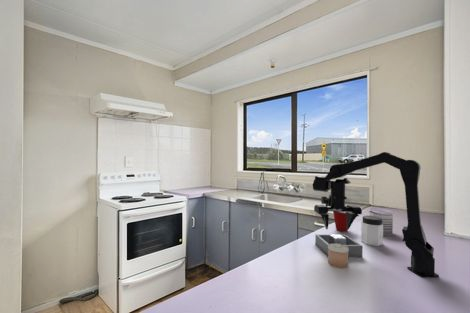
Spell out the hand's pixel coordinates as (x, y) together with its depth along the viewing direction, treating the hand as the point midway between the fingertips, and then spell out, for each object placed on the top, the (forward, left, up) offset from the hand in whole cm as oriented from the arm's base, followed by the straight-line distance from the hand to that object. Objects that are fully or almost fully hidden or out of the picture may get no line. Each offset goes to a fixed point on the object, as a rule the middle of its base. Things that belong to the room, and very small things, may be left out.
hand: (337, 229), depth 103 cm
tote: (0, 0, -9) cm, 9 cm away
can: (+25, -36, -9) cm, 45 cm away
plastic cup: (+28, -16, -9) cm, 33 cm away
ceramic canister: (-13, +6, -9) cm, 17 cm away
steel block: (0, 0, -8) cm, 8 cm away
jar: (+9, -21, -9) cm, 25 cm away
